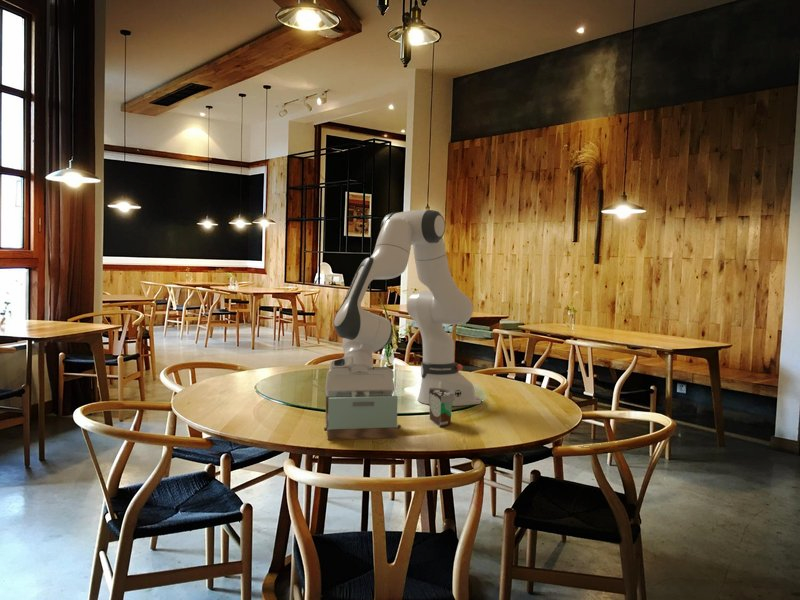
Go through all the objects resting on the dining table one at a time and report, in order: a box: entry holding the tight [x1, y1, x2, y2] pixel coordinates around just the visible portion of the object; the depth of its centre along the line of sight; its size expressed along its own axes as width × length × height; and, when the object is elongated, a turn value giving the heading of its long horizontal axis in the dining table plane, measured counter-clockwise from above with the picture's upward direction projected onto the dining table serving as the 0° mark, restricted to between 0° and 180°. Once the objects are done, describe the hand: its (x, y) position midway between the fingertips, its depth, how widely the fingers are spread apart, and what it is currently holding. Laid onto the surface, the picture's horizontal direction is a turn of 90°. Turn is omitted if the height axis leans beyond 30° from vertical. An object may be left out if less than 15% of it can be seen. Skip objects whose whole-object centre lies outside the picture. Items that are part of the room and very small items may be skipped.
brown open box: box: [323, 394, 402, 440], centre depth 194 cm, size 22×14×10 cm, turn 99°
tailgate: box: [328, 395, 398, 429], centre depth 187 cm, size 20×2×9 cm, turn 99°
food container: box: [429, 388, 455, 428], centre depth 206 cm, size 12×6×10 cm, turn 17°
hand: (360, 407), depth 188 cm, fingers closed, pressing on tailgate
